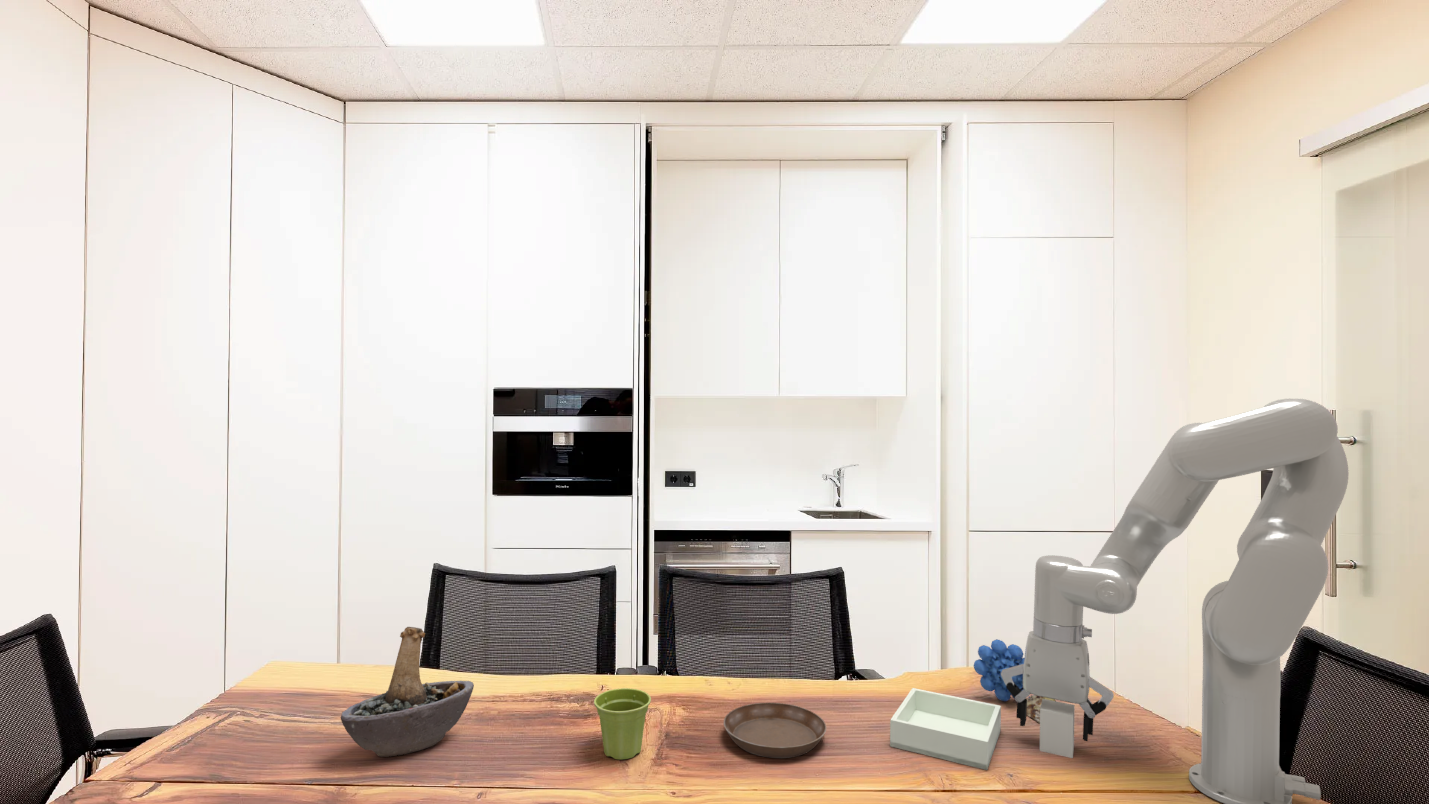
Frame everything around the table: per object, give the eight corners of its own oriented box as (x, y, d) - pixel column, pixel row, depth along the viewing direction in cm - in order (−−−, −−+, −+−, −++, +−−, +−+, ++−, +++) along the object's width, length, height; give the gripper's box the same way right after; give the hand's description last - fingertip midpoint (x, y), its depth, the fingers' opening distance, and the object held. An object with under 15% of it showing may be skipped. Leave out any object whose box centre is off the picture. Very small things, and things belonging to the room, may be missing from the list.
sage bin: (1000, 731, 128) (1000, 705, 128) (987, 770, 114) (987, 742, 114) (912, 711, 136) (912, 687, 136) (890, 746, 122) (890, 719, 122)
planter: (477, 732, 125) (479, 618, 125) (413, 781, 109) (414, 650, 109) (406, 721, 129) (407, 610, 129) (333, 766, 113) (334, 640, 113)
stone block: (1074, 745, 123) (1074, 705, 123) (1072, 758, 119) (1073, 716, 119) (1042, 738, 125) (1042, 698, 125) (1039, 751, 121) (1040, 709, 121)
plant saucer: (753, 709, 137) (753, 693, 137) (841, 732, 127) (841, 715, 127) (704, 747, 121) (704, 729, 121) (800, 777, 112) (800, 757, 112)
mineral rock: (1012, 691, 140) (1054, 683, 139) (1018, 713, 140) (1060, 705, 139) (1029, 717, 130) (1074, 708, 129) (1035, 741, 130) (1081, 732, 129)
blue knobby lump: (977, 708, 137) (978, 645, 137) (970, 693, 144) (971, 634, 144) (1042, 712, 136) (1042, 649, 136) (1031, 698, 142) (1032, 637, 142)
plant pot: (596, 769, 113) (597, 714, 113) (590, 741, 123) (591, 690, 122) (655, 761, 116) (655, 708, 116) (645, 735, 125) (645, 685, 125)
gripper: (1115, 633, 121) (1111, 734, 121) (1005, 615, 129) (1002, 709, 130) (1115, 647, 115) (1111, 753, 115) (1000, 627, 123) (996, 726, 123)
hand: (1053, 730), depth 122 cm, fingers open, 9 cm apart
